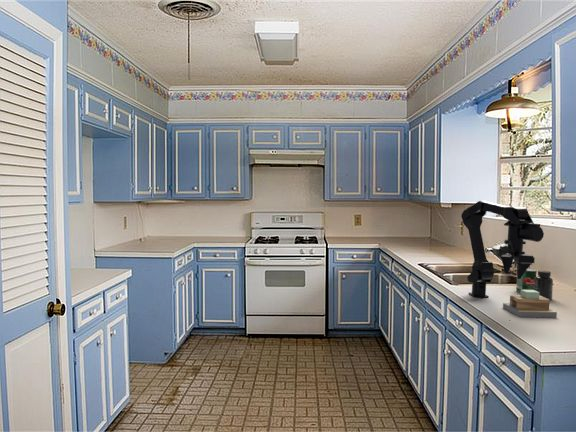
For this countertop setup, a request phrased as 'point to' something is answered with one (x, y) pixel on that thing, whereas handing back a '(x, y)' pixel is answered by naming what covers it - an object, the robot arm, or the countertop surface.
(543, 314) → the dock
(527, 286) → the canned tomato
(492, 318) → the countertop surface
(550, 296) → the supplement bottle
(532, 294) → the pale green block
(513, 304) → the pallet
